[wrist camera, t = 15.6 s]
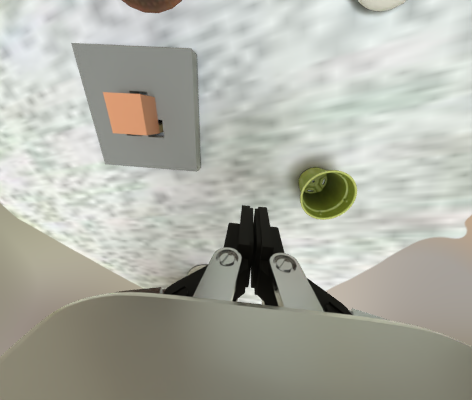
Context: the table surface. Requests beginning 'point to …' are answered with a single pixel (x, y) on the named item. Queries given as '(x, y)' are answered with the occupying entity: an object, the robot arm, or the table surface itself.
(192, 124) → the socket
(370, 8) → the flower in vase
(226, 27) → the table surface
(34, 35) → the table surface
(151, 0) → the brown cylinder
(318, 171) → the plant pot
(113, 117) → the plug
